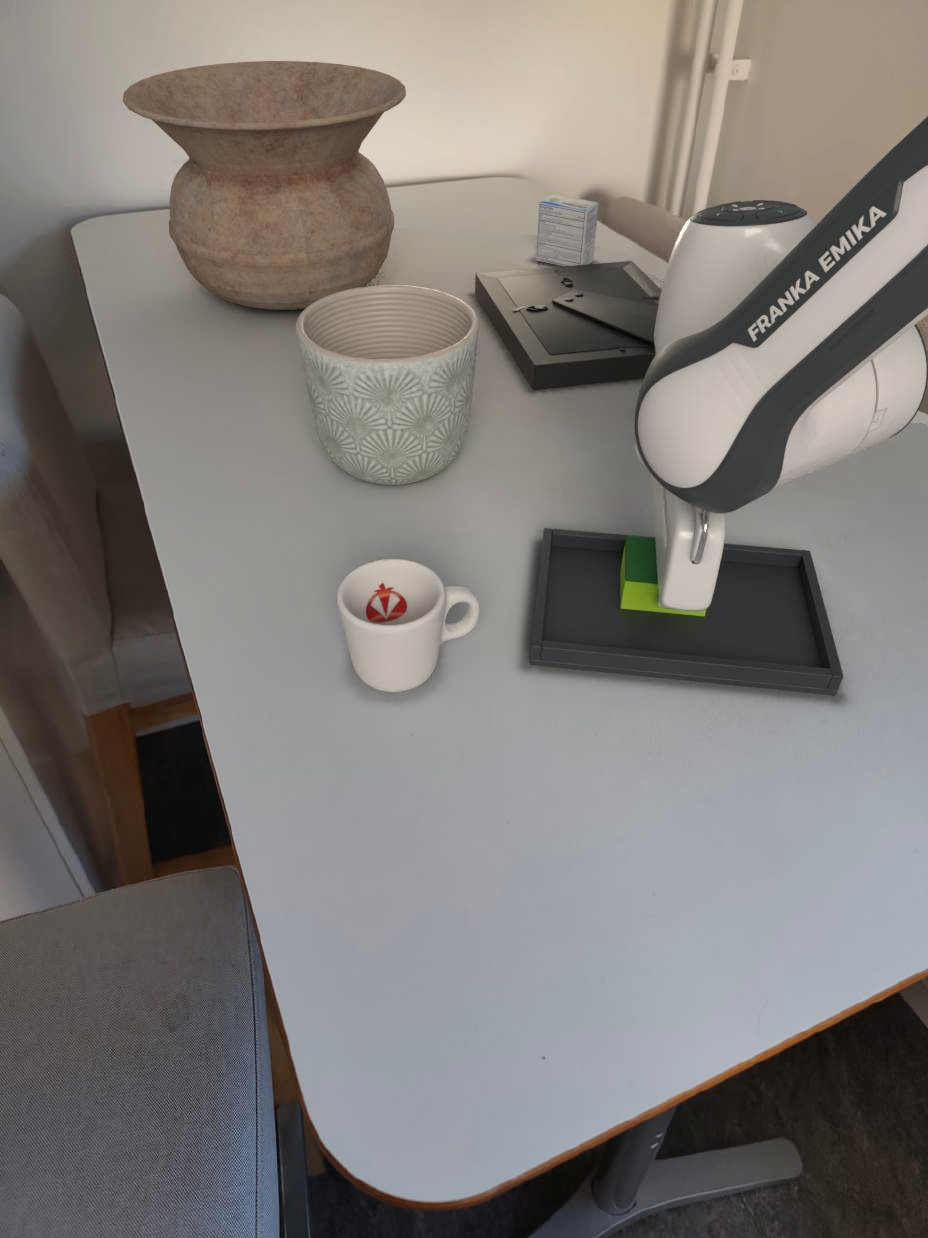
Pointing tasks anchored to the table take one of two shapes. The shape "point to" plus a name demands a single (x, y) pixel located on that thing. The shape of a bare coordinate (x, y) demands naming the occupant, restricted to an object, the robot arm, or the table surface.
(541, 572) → the tray
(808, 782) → the table surface
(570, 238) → the medicine box
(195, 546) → the table surface
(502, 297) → the picture frame
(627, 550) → the sponge
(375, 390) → the planter
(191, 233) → the pot
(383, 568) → the cup
